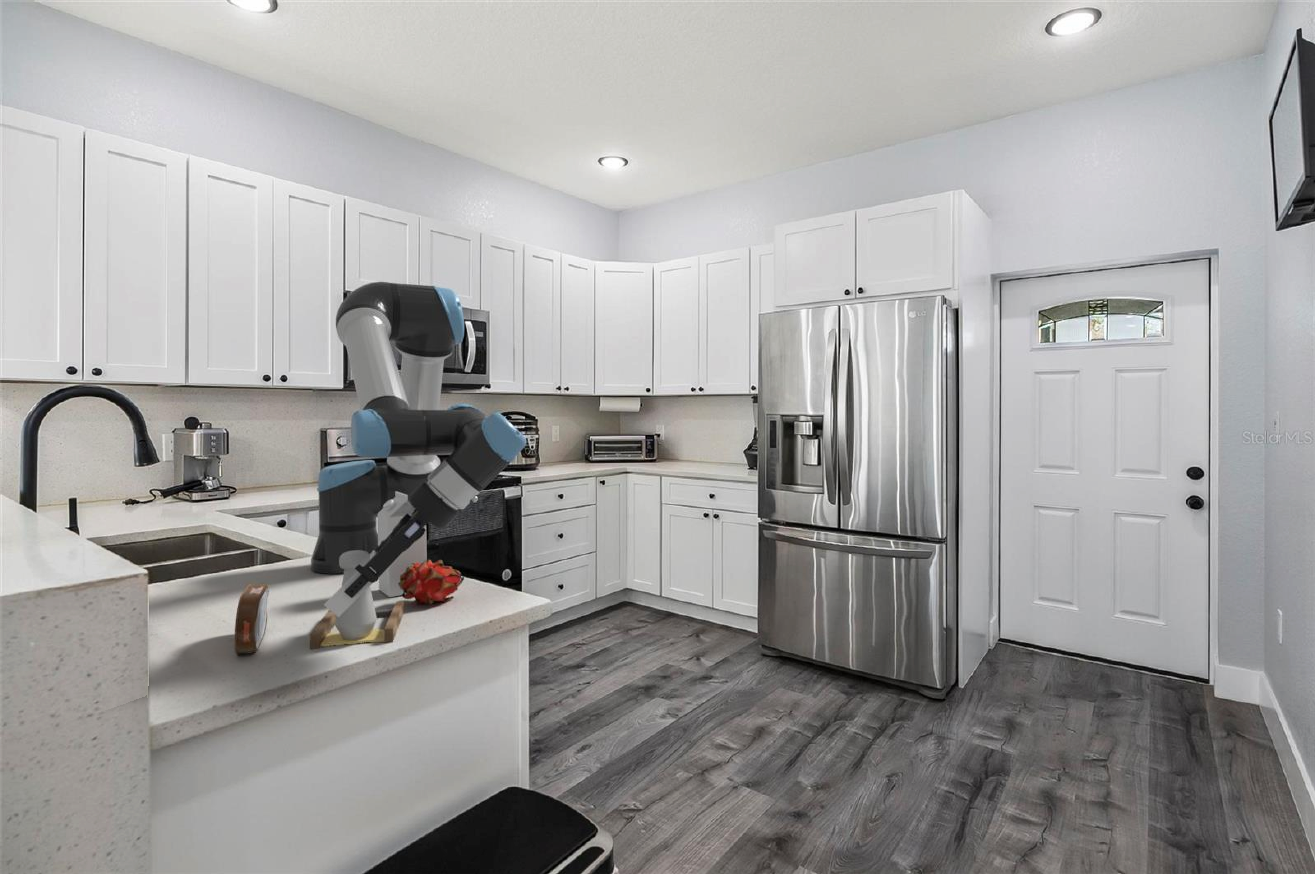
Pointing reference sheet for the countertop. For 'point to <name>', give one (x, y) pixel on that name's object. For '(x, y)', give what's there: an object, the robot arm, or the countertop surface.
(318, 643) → the channel
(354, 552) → the salt shaker
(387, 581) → the milk carton
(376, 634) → the yellow panel
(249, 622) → the tin
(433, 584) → the dragon fruit
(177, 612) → the countertop surface
